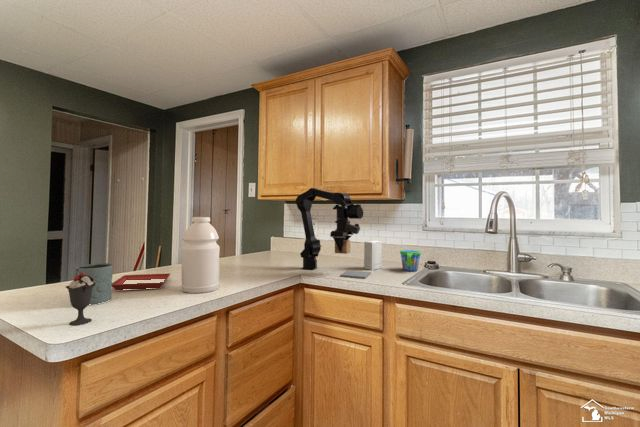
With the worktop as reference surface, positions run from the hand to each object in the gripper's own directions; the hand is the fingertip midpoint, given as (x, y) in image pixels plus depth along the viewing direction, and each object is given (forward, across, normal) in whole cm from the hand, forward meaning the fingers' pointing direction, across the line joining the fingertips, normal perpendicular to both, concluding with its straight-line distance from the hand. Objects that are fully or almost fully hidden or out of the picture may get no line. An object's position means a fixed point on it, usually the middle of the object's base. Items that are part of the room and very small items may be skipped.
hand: (342, 250), depth 153 cm
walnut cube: (+1, 0, 0) cm, 1 cm away
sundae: (+11, -91, +46) cm, 103 cm away
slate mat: (+12, 0, -7) cm, 13 cm away
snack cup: (+12, +25, -29) cm, 40 cm away
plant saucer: (+11, -55, +67) cm, 87 cm away
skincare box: (+12, +20, -10) cm, 26 cm away
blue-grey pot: (+11, -77, +62) cm, 100 cm away
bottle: (+11, -50, +42) cm, 66 cm away
